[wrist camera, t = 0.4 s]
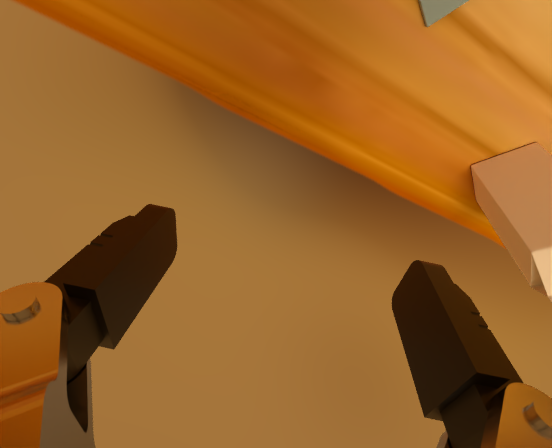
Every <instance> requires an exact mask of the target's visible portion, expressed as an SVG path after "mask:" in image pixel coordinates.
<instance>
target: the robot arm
mask: <svg viewBox="0 0 552 448" xmlns="http://www.w3.org/2000/svg"><path fill="white" fill-rule="evenodd" d="M176 251H177V235H176V218H175V211H174V210H173V209H171V208H167V207H162V206H157V205H152V204H148V205H146V206H145V207H144V208H143V209H142V210H141V211H140V212H139V213H138V214H137V215H135V216H127V217H125V218H123V219H121V220H118V221H116V222H114V223H112V224H111V225H110V226H109V227H108V228H107V229H105V230H104V231H103V232H102V233H101V235H100V236H99V235H98V236H97V237H96V238H95V239H94V240H93V241H91V244H90V245H87V246H86V247H84V248H83V249H82V250H81V251H80V252H79V253H77V255H75V256H74V257H73V258H72V259H70V261H68V262H67V263H66V264H65V265H63V266H62V267H61V268H60V269H59V270H58V271H57V272H55V273H54V274H53V275H52V276H51V277H49V278H48V279H47V280H46V281H45V282H32V283H26V284H22V285H18V286H15V287H12V288H9V289H7V290H5V291H2V292H1V293H0V448H96V447H95V442H94V434H93V410H92V380H91V361H90V357H91V356H92V354H93V353H94V352H95V350H96V349H97V347H98V346H101V347H105V348H110V349H115V347H116V346H117V344H118V343H119V341H120V340H121V338H122V337H123V335H124V334H125V332H126V331H127V329H128V328H129V326H130V325H131V323H132V322H133V320H134V319H135V317H136V316H137V314H138V313H139V311H140V310H141V308H142V307H143V305H144V304H145V303H146V301H147V300H148V298H149V297H150V295H151V294H152V292H153V290H154V289H155V288H156V286H157V285H158V283H159V282H160V280H161V279H162V277H163V276H164V274H165V273H166V271H167V270H168V268H169V267H170V265H171V264H172V262H173V260H174V258H175V255H176ZM392 310H393V313H394V317H395V320H396V323H397V326H398V330H399V333H400V337H401V340H402V344H403V347H404V350H405V354H406V357H407V360H408V364H409V367H410V370H411V374H412V377H413V380H414V384H415V387H416V391H417V394H418V397H419V400H420V404H421V407H422V410H423V414H424V417H426V418H431V419H435V420H440V421H443V422H444V425H445V428H446V431H445V432H444V433H443V434H442V435H441V437H440V439H439V442H438V445H437V448H552V398H550V397H549V396H548V395H546V394H545V393H543V392H541V391H540V390H538V389H536V388H534V387H532V386H530V385H527V384H524V383H523V382H522V380H521V378H520V377H519V375H518V374H517V372H516V370H515V369H514V368H513V366H512V364H511V362H510V361H509V359H508V358H507V356H506V354H505V353H504V351H503V350H502V348H501V346H500V345H499V343H498V342H497V340H496V338H495V337H494V335H493V334H492V332H491V330H489V329H488V326H487V324H486V322H485V321H484V319H483V318H482V316H480V315H479V314H480V313H479V311H478V310H477V308H476V307H475V305H474V303H473V302H472V300H471V299H470V297H469V296H468V295H467V294H466V293H465V292H463V291H462V290H461V289H460V288H459V287H458V286H457V285H456V284H454V283H453V281H452V280H451V278H450V276H449V275H448V273H447V271H446V270H445V268H444V267H443V266H442V265H438V264H433V263H429V262H424V261H419V260H416V261H414V262H413V263H412V264H411V265H410V267H409V268H408V270H407V272H406V273H405V275H404V276H403V279H402V280H401V281H400V283H399V285H398V286H397V288H396V290H395V291H394V294H393V297H392Z"/></svg>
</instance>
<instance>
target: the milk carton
mask: <svg viewBox="0 0 552 448" xmlns="http://www.w3.org/2000/svg"><path fill="white" fill-rule="evenodd" d="M471 171H472V177H473V184H474V190H475V196H476V201H477V203H478V204H479V206H480V207H481V209H482V210H483V212H484V214H485V215H486V217H487V218H488V220H489V222H490V223H491V225H492V226H493V228H494V229H495V231H496V233H497V234H498V236H499V237H500V239H501V240H502V242H503V244H504V245H505V247H506V248H507V250H508V252H509V253H510V255H511V256H512V258H513V259H514V261H515V263H516V264H517V266H518V267H519V269H520V271H521V272H522V273H523V275H524V277H525V278H526V280H527V282H528V283H529V285H530V286H531V288H533V289H535V290H537V291H539V292H540V293H542V294H544V295H545V296H547V297H548V298H549V299H550V300H551V302H552V155H551V154H550V153H549V152H547V151H546V150H545V149H544V148H543V147H542V146H541V145H540V144H538V143H533V144H530V145H527V146H524V147H521V148H518V149H515V150H513V151H510V152H507V153H504V154H501V155H498V156H496V157H493V158H490V159H487V160H484V161H481V162H479V163H476V164H473V165H471Z"/></svg>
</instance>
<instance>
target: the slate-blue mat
mask: <svg viewBox="0 0 552 448" xmlns="http://www.w3.org/2000/svg"><path fill="white" fill-rule="evenodd" d="M418 1H419V5H420V8H421V12H422V16H423V19H424V23H425V26H427V27H429V26H430V25H432V24H433V23H435V22H436V21H438V20H439V19H441V18H443V17H444V16H446V15H447V14H449V13H450V12H452V11H453V10H455V9H456V8H458V7H459V6H461V5H462V4H464V3H466V2H467V1H469V0H418Z"/></svg>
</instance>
